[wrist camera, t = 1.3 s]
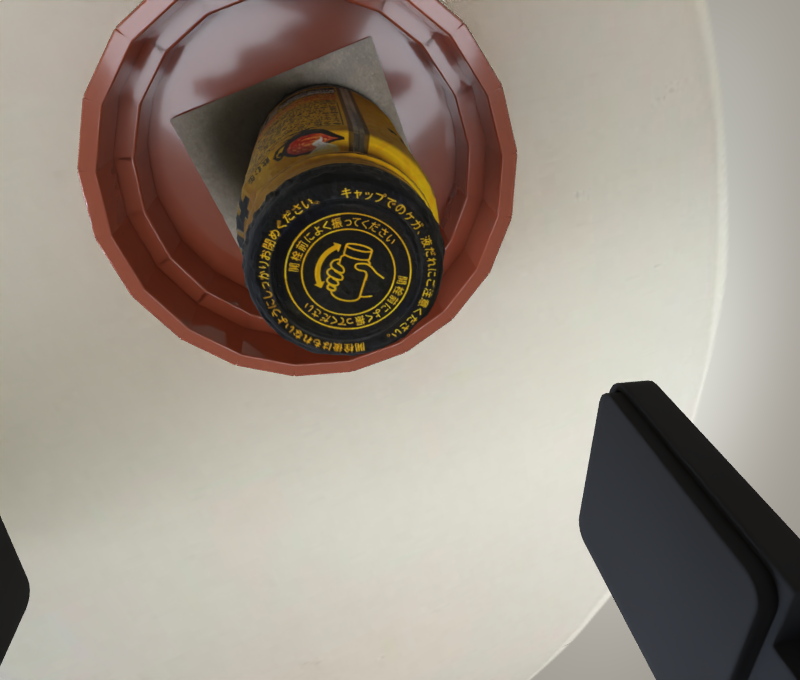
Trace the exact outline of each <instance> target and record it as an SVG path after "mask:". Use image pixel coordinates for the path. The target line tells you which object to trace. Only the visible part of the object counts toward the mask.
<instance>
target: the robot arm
mask: <svg viewBox="0 0 800 680" xmlns="http://www.w3.org/2000/svg"><path fill="white" fill-rule="evenodd" d="M579 527H580V532H581V535H582V538H583V541H584V543H585V545H586V547H587V549H588V550H589V552H590V554H591V556H592V558H593V560H594V562H595V564H596V566H597V568H598V570H599V571H600V573H601V575H602V577H603V579H604V581H605V583H606V585H607V587H608V589H609V591H610V592H611V594H612V596H613V598H614V600H615V602H616V604H617V606H618V608H619V610H620V612H621V613H622V615H623V617H624V619H625V621H626V623H627V625H628V627H629V629H630V631H631V632H632V634H633V636H634V638H635V640H636V642H637V644H638V646H639V648H640V650H641V652H642V654H643V656H644V657H645V659H646V661H647V663H648V665H649V667H650V669H651V671H652V673H653V674H654V677H655V678H656V680H800V539H799V538H798V537H797V535H796V534H795V533H794V532H793V531H792V530H791V529H790V528H789V527H788V526H787V525H786V523H785V522H784V521H783V520H782V519H781V518H780V517H779V516H778V515H777V514H776V513H775V512H774V511H773V509H771V507H770V506H769V505H768V504H767V503H766V502H765V501H764V500H763V499H762V498H761V497H760V496H759V494H758V493H757V492H756V491H755V490H754V489H753V488H752V487H751V486H750V485H749V484H748V483H747V481H746V480H745V479H744V478H743V477H742V476H741V475H740V474H739V473H738V472H737V471H736V470H735V468H734V467H733V466H732V465H731V464H730V463H729V462H728V461H727V460H726V459H725V458H724V457H723V456H722V454H721V453H720V452H719V451H718V450H717V449H716V448H715V447H714V446H713V445H712V444H711V443H710V442H709V441H708V439H707V438H706V437H705V436H704V435H703V434H702V433H701V432H700V431H699V430H698V429H697V427H696V426H695V425H694V424H693V423H692V422H691V421H690V420H689V419H688V418H687V417H686V416H685V414H684V413H683V412H682V411H681V410H680V409H679V408H678V407H677V406H676V405H675V404H674V403H673V402H672V400H671V399H670V398H669V397H668V396H667V395H666V394H665V393H664V392H663V391H662V390H661V389H660V387H659V386H658V385H657V384H655V383H654V382H653V381H637V382H626V383H616V384H614V385H613V386H612V388H611V389H610V392H609V393H605V394H603V395H602V397H601V399H600V402H599V408H598V413H597V419H596V425H595V430H594V436H593V442H592V447H591V453H590V459H589V464H588V470H587V476H586V481H585V487H584V493H583V498H582V504H581V510H580V515H579ZM29 593H30V588H29V582H28V579H27V576H26V574H25V572H24V569H23V567H22V565H21V562H20V560H19V558H18V556H17V553H16V551H15V549H14V546H13V544H12V542H11V539H10V537H9V535H8V533H7V530H6V528H5V526H4V523H3V521H2V519H1V516H0V665H1V663H2V661H3V659H4V656H5V654H6V652H7V650H8V647H9V645H10V643H11V641H12V639H13V636H14V634H15V632H16V630H17V627H18V625H19V623H20V621H21V619H22V616H23V614H24V612H25V610H26V607H27V604H28V601H29Z"/></svg>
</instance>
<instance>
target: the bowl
mask: <svg viewBox="0 0 800 680" xmlns="http://www.w3.org/2000/svg"><path fill="white" fill-rule="evenodd" d="M370 36H371V37H372V40H373V43H374V46H375V49H376V52H377V55H378V58H379V61H380V64H381V67H382V70H383V72H384V75H385V79H386V81H387V84H388V87H389V90H390V93H391V96H392V99H393V102H394V105H395V108H396V111H397V114H398V117H399V119H400V122H401V125H402V128H403V131H404V134H405V137H406V140H407V143H408V145H409V148H410V151H411V154H412V156H413V157H414V158H415V159H416V160H417V162H418V163H419V165H420V167H421V169H422V170H423V172H424V173H425V174H426V175H427V177H428V180H429V183H430V185H431V187H432V189H433V191H434V195H435V199H436V205H437V211H438V218H439V227H440V232H441V235H442V238H443V240H444V246H445V255H444V261H443V269H444V271H443V276H442V280H441V284H440V289H439V292H438V295H437V298H436V300H435V303H434V305H433V307H432V308H431V310H430V312H429V313H428V315H427V316H425V317H424V318H423V319H422V320H420V321H419V322H418V323H417V324H416V325H415V326H414V327H413V328H412V330H411V331H410V332H409V333H408V334H407V335H406V336H405V337H404V338H402V339H400V340H398V341H397V342H394V343H392V344H389V345H387V346H386V347H384V348H381V349H378V350H375V351H372V352H369V353H365V354H360V355H357V356H348V355H331V354H316V353H312V352H310V351H307V350H305V349H304V348H301V347H299V346H297V345H296V344H294V343H292V342H289V341H287V340H285V339H283V338H282V337H281V336H280V335H279V334H277V333H276V331H275V330H274V329H272V328H271V327H270V326H269V325H268V324H267V323H266V321H265V320H264V319H263V317H262V316H261V315H260V313H259V311H258V310H257V308H256V306H255V304H254V303H253V301H252V299H251V297H250V293H249V291H248V288H247V287H246V285H245V278H244V273H243V268H242V262H243V257H242V254H241V251H240V249H239V246H238V245H237V243H236V241H235V239H234V238H233V236H232V234H231V231H230V230H229V228H228V226H227V224H226V222H225V220H224V218H223V215H222V214H221V212H220V211H219V209H218V207H217V205H216V203H215V202H214V200H213V198H212V196H211V194H210V192H209V190H208V188H207V186H206V185H205V183H204V181H203V180H202V178H201V176H200V174H199V172H198V170H197V169H196V167H195V165H194V163H193V161H192V159H191V157H190V156H189V154H188V152H187V150H186V148H185V146H184V144H183V143H182V141H181V139H180V138H179V136H178V135H177V133H176V131H175V129H174V127H173V125H172V124H171V122H170V119H173V118H175V117H178V116H180V115H182V114H185V113H187V112H190V111H192V110H195V109H197V108H199V107H202V106H204V105H206V104H209V103H211V102H213V101H215V100H218V99H221V98H223V97H226V96H228V95H230V94H233V93H235V92H238V91H240V90H243V89H246V88H248V87H250V86H252V85H255V84H257V83H259V82H262V81H264V80H266V79H269V78H271V77H274V76H276V75H278V74H281V73H283V72H285V71H288V70H291V69H293V68H295V67H297V66H300V65H302V64H305V63H307V62H310V61H312V60H315V59H318V58H320V57H322V56H324V55H326V54H329V53H331V52H334V51H336V50H339V49H341V48H344V47H346V46H349V45H351V44H353V43H356V42H358V41H361V40H363V39H366V38H368V37H370ZM516 152H517V149H516V144H515V140H514V136H513V131H512V127H511V122H510V118H509V114H508V109H507V105H506V100H505V96H504V92H503V87H502V84H501V83H500V81H499V79H498V78H497V76H496V74H495V73H494V71H493V69H492V68H491V66H490V64H489V63H488V61H487V59H486V58H485V56H484V54H483V53H482V51H481V49H480V48H479V46H478V44H477V43H476V41H475V39H474V38H473V36H472V34H471V33H470V31H469V29H468V28H467V26H466V24H465V23H463V21H462V20H461V19H460V18H459V17H457V16H456V15H455V14H454V13H453V12H451V11H450V10H449V9H448V8H447V7H446V6H444V5H443V4H442V3H441V2H440V1H438V0H143V1H142V2H141V3H140V4H139V5H138V6H137V7H136V8H135V9H134V10H133V11H132V12H131V13H130V14H129V15H128V16H127V17H126V18H125V19H123V20H122V21H121V22H120V23H119V24H118V25H117V26H116V29H114V31H113V33H112V35H111V37H110V39H109V41H108V44H107V46H106V48H105V50H104V52H103V54H102V57H101V59H100V61H99V63H98V65H97V67H96V69H95V72H94V74H93V76H92V78H91V80H90V82H89V85H88V87H87V89H86V91H85V93H84V98H83V101H82V114H81V127H80V141H79V154H78V167H77V169H78V175H79V179H80V183H81V187H82V190H83V194H84V198H85V202H86V206H87V209H88V213H89V217H90V221H91V225H92V228H93V232H94V236H95V238H96V241H97V242H98V244H99V245H100V247H101V249H102V250H103V252H104V253H105V255H106V256H107V258H108V260H109V261H110V263H111V264H112V266H113V268H114V269H115V271H116V272H117V274H118V275H119V277H120V279H121V280H122V282H123V283H124V285H125V286H126V288H127V290H128V291H129V293H130V294H131V295H133V298H134V299H136V300H137V301H138V302H139V303H140V304H141V305H142V306H144V307H145V308H146V309H147V310H148V311H149V312H150V313H152V314H153V315H154V316H155V317H156V318H157V319H158V320H160V321H161V322H162V323H163V324H164V325H165V326H166V327H167V328H169V329H170V330H171V331H172V332H173V333H174V334H175V335H177V336H178V337H179V338H181V339H182V340H184V341H186V342H188V343H190V344H192V345H194V346H196V347H198V348H201V349H203V350H205V351H207V352H209V353H211V354H213V355H215V356H217V357H219V358H221V359H223V360H225V361H228V362H230V363H232V364H234V365H237V366H242V367H247V368H253V369H258V370H263V371H269V372H274V373H279V374H285V375H290V376H294V375H295V376H304V375H317V374H330V373H342V372H351V371H356V370H358V369H361V368H364V367H367V366H370V365H372V364H375V363H378V362H381V361H383V360H386V359H389V358H392V357H395V356H397V355H400V354H403V353H405V351H406V352H407V351H409V350H410V349H412V348H413V347H414V346H416V345H417V344H419V343H420V342H421V341H423V340H424V339H426V338H427V337H428V336H430V335H431V334H433V333H434V332H435V331H437V330H438V329H440V328H441V327H443V326H444V325H445V324H447V323H448V322H450V321H451V320H452V319H453V318H454V317H455V316H456V314H457V313H458V312H459V311H460V309H461V308H462V307H463V306H464V304H465V303H466V302H467V301H468V299H469V298H470V297H471V296H472V294H473V293H474V292H475V291H476V289H477V288H478V287H479V286H480V284H481V283H482V282H483V281H484V279H485V278H486V277H487V276H488V273H490V271H491V268H492V266H493V263H494V261H495V258H496V256H497V253H498V251H499V248H500V246H501V243H502V241H503V238H504V236H505V233H506V231H507V228H508V226H509V223H510V221H511V218H512V217H511V216H512V210H513V198H514V187H515V175H516V163H517V153H516Z"/></svg>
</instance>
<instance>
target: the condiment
mask: <svg viewBox="0 0 800 680" xmlns="http://www.w3.org/2000/svg"><path fill="white" fill-rule="evenodd" d="M170 122H171V124H172V125H173V127H174V129H175V131H176V133H177V135H178V136H179V138H180V139H181V141H182V143H183V144H184V146H185V148H186V150H187V152H188V154H189V156H190V157H191V159H192V161H193V163H194V165H195V167H196V169H197V170H198V172H199V174H200V176H201V178H202V180H203V181H204V183H205V185H206V186H207V188H208V190H209V192H210V194H211V196H212V198H213V200H214V202H215V203H216V205H217V207H218V209H219V211H220V212H221V214H222V215H223V218H224V220H225V222H226V224H227V226H228V228H229V230H230V231H231V234H232V236H233V238H234V239H235V241H236V243H237V245H238V246H239V249H240V251H241V254H242V257H243V262H242V268H243V273H244V278H245V285H246V287H247V288H248V291H249V293H250V297H251V299H252V301H253V303H254V304H255V306H256V308H257V310H258V311H259V313H260V315H261V316H262V317H263V319H264V320H265V321H266V323H267V324H268V325H269V326H270V327H271V328H272V329H274V330H275V331H276V333H277V334H279V335H280V336H281V337H282V338H283V339H285V340H287V341H289V342H292V343H294V344H296V345H297V346H299V347H301V348H304V349H305V350H307V351H310V352H312V353H316V354H331V355H348V356H357V355H360V354H365V353H369V352H372V351H375V350H378V349H381V348H384V347H386V346H387V345H389V344H392V343H394V342H397V341H398V340H400V339H402V338H404V337H405V336H406V335H407V334H408V333H409V332H410V331H411V330H412V328H413V327H414V326H415V325H416V324H417V323H418V322H419V321H420V320H422V319H423V318H424V317H425V316H427V315H428V313H429V312H430V310H431V308H432V307H433V305H434V303H435V300H436V298H437V295H438V292H439V289H440V284H441V280H442V276H443V271H444V269H443V261H444V255H445V246H444V240H443V238H442V235H441V232H440V227H439V218H438V211H437V205H436V199H435V195H434V191H433V189H432V187H431V185H430V183H429V180H428V177H427V175H426V174H425V173H424V172H423V170H422V169H421V167H420V165H419V163H418V162H417V160H416V159H415V158H414V157H413V156H412V154H411V151H410V148H409V145H408V143H407V140H406V137H405V134H404V131H403V128H402V125H401V122H400V119H399V117H398V114H397V111H396V108H395V105H394V102H393V99H392V96H391V93H390V90H389V87H388V84H387V81H386V79H385V75H384V72H383V70H382V67H381V64H380V61H379V58H378V55H377V52H376V49H375V46H374V43H373V40H372V37H371V36H370V37H368V38H366V39H363V40H361V41H358V42H356V43H353V44H351V45H349V46H346V47H344V48H341V49H339V50H336V51H334V52H331V53H329V54H326V55H324V56H322V57H320V58H318V59H315V60H312V61H310V62H307V63H305V64H302V65H300V66H297V67H295V68H293V69H291V70H288V71H285V72H283V73H281V74H278V75H276V76H274V77H271V78H269V79H266V80H264V81H262V82H259V83H257V84H255V85H252V86H250V87H248V88H246V89H243V90H240V91H238V92H235V93H233V94H230V95H228V96H226V97H223V98H221V99H218V100H215V101H213V102H211V103H209V104H206V105H204V106H202V107H199V108H197V109H195V110H192V111H190V112H187V113H185V114H182V115H180V116H178V117H175V118H173V119H170Z"/></svg>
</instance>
